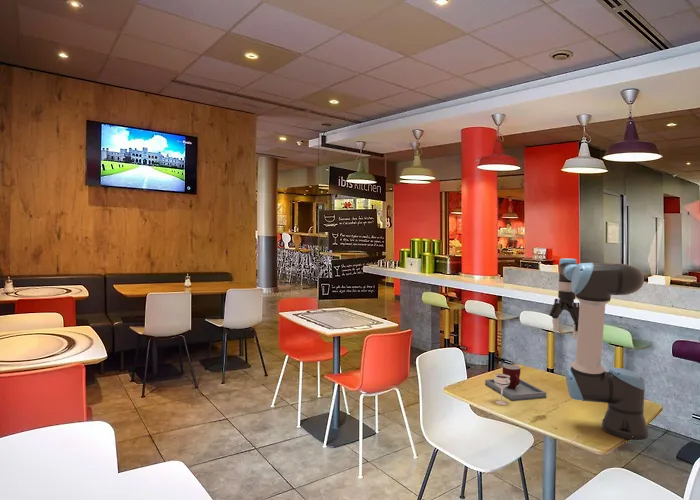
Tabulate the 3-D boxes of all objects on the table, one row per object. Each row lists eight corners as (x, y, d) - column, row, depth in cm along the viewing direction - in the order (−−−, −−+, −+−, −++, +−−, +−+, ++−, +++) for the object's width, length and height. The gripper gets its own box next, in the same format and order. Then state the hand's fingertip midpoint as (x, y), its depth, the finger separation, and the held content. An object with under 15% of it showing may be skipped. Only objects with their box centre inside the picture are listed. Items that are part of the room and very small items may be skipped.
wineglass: (503, 399, 205) (504, 373, 205) (512, 405, 199) (513, 377, 198) (490, 400, 204) (491, 374, 203) (498, 406, 197) (499, 378, 197)
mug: (527, 391, 214) (527, 370, 213) (512, 392, 211) (513, 371, 211) (512, 383, 224) (513, 363, 224) (498, 385, 222) (499, 365, 221)
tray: (546, 397, 208) (546, 392, 208) (511, 400, 203) (511, 395, 203) (516, 382, 229) (517, 377, 229) (485, 384, 225) (485, 379, 225)
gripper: (593, 294, 207) (591, 340, 208) (555, 287, 231) (554, 328, 232) (579, 294, 205) (578, 341, 206) (543, 287, 229) (541, 329, 230)
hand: (565, 334), depth 219 cm, fingers open, 13 cm apart
